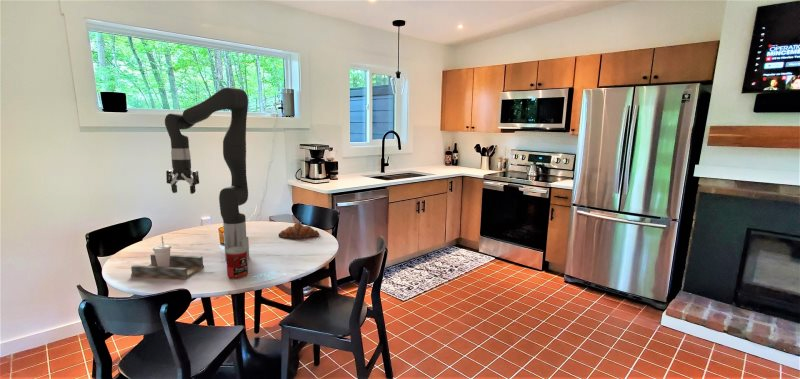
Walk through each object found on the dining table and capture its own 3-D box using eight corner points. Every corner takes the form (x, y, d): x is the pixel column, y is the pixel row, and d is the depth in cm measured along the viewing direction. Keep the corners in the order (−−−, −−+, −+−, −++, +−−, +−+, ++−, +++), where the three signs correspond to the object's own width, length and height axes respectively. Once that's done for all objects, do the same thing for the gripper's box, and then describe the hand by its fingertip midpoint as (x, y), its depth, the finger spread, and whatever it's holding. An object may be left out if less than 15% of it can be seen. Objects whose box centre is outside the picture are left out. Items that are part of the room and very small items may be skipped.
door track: (204, 267, 159) (203, 256, 158) (184, 279, 146) (183, 267, 145) (154, 264, 160) (153, 253, 159) (131, 276, 147) (129, 264, 147)
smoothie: (164, 272, 149) (161, 239, 147) (150, 271, 151) (147, 237, 148) (176, 266, 156) (174, 234, 153) (163, 265, 157) (160, 233, 154)
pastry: (302, 230, 216) (302, 217, 215) (320, 236, 207) (320, 222, 206) (277, 237, 203) (277, 223, 201) (295, 243, 194) (295, 228, 192)
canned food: (235, 280, 146) (233, 254, 144) (223, 276, 150) (221, 250, 148) (252, 274, 153) (251, 248, 151) (240, 270, 157) (238, 245, 155)
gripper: (160, 158, 167) (163, 194, 170) (190, 159, 166) (193, 195, 169) (171, 157, 174) (174, 191, 177) (201, 157, 173) (203, 192, 176)
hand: (183, 193), depth 173 cm, fingers open, 8 cm apart
